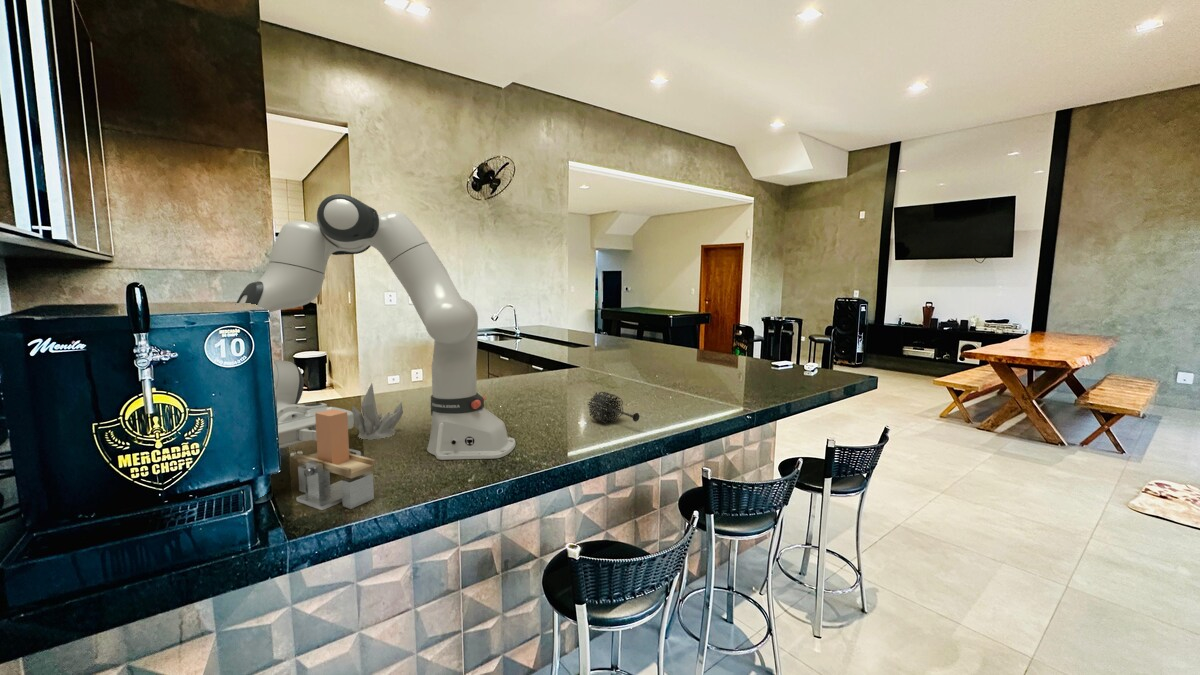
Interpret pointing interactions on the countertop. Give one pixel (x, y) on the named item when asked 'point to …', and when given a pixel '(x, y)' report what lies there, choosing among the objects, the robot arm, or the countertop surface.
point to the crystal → (375, 419)
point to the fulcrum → (333, 487)
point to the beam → (348, 469)
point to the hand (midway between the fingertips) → (325, 435)
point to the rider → (332, 436)
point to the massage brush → (611, 409)
